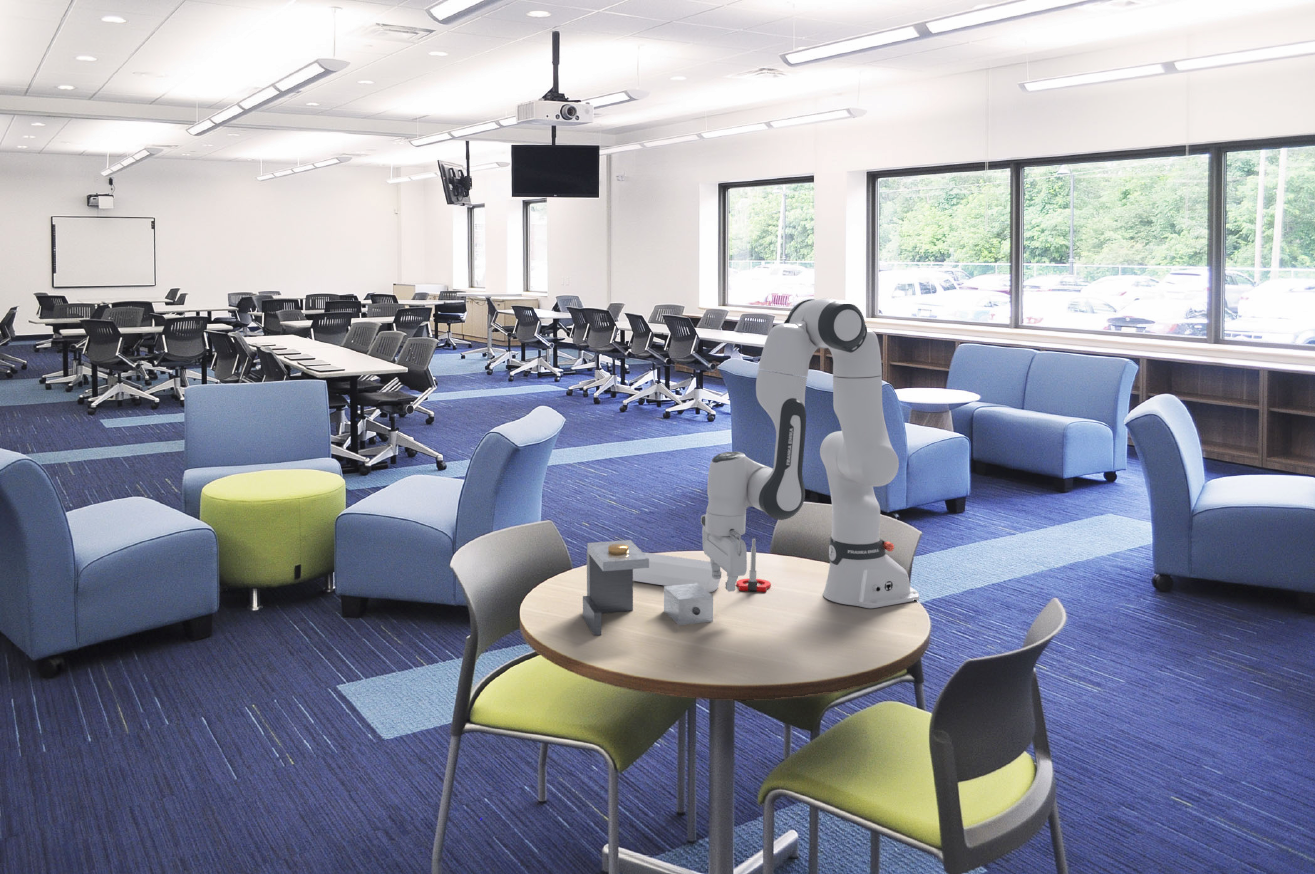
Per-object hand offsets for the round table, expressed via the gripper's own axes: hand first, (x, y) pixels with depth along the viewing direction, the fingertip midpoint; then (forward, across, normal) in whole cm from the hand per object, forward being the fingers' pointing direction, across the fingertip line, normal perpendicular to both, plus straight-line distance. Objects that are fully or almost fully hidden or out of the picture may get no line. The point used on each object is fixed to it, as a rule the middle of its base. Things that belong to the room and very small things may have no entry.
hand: (723, 584), depth 239 cm
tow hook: (+7, +17, -14) cm, 23 cm away
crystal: (+7, +24, +4) cm, 25 cm away
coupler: (+7, +2, +25) cm, 26 cm away
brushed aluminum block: (+7, 0, +8) cm, 11 cm away
